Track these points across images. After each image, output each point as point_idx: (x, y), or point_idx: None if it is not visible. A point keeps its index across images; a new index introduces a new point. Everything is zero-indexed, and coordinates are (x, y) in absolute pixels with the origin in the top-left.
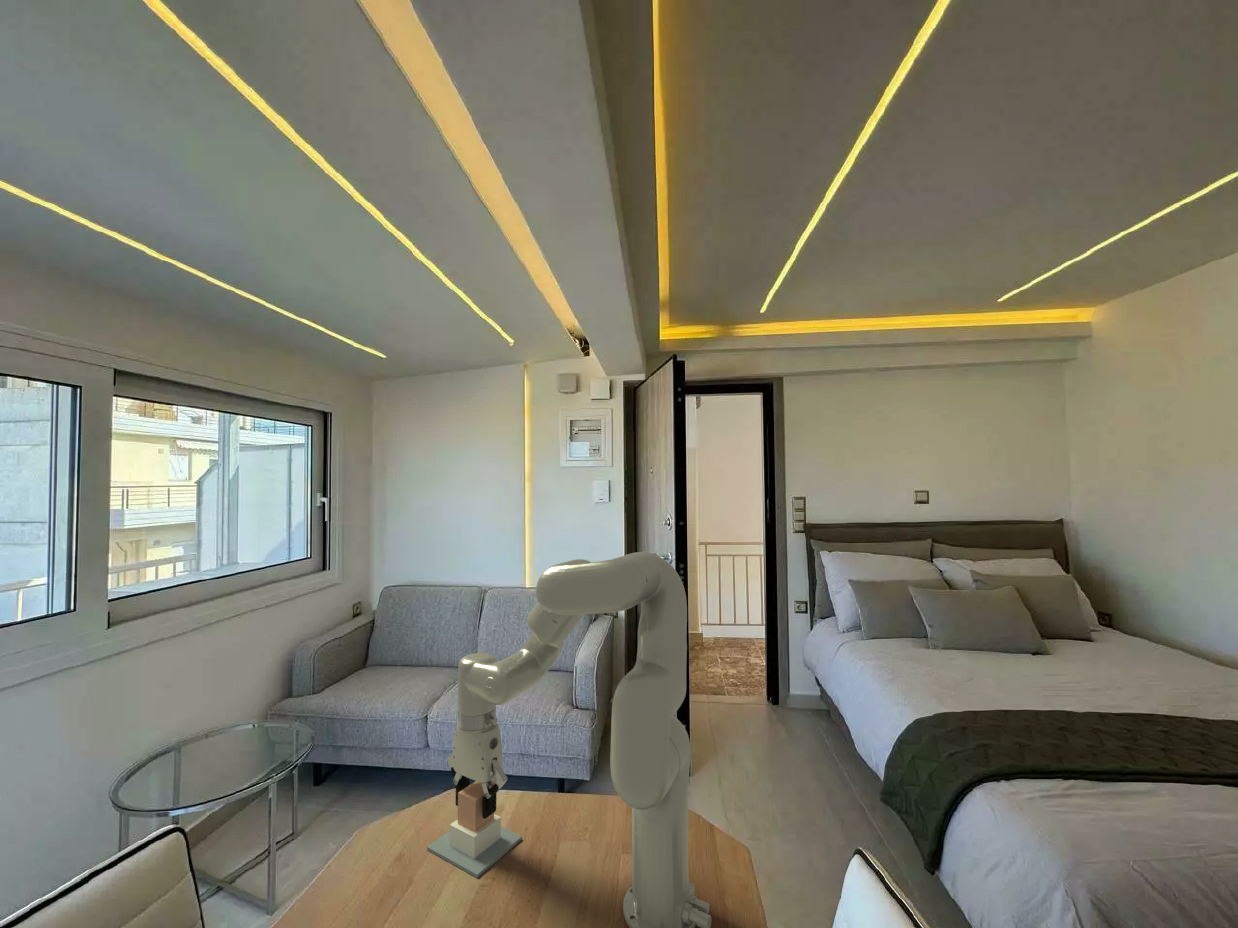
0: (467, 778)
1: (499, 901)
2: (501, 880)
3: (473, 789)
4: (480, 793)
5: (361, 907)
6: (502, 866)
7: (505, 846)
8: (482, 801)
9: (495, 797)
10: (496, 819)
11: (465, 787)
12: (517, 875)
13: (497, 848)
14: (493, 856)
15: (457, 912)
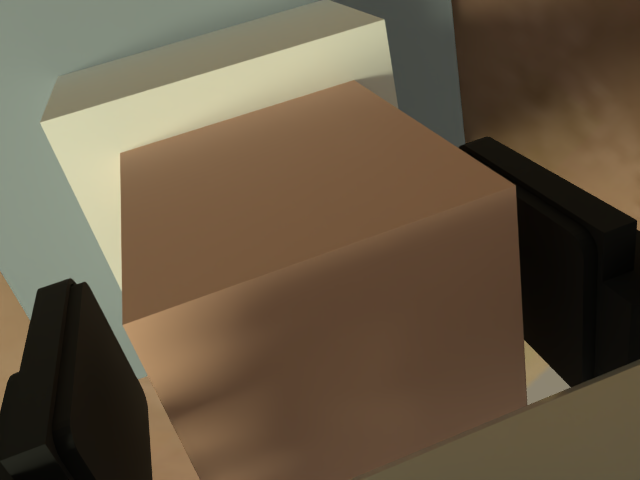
0: (5, 465)
1: (631, 214)
2: (561, 155)
3: (325, 423)
4: (466, 374)
5: None
6: (498, 105)
7: (428, 26)
8: (554, 368)
9: (636, 238)
10: (384, 71)
11: (108, 440)
12: (604, 75)
13: (402, 77)
14: (440, 132)
15: (535, 355)
